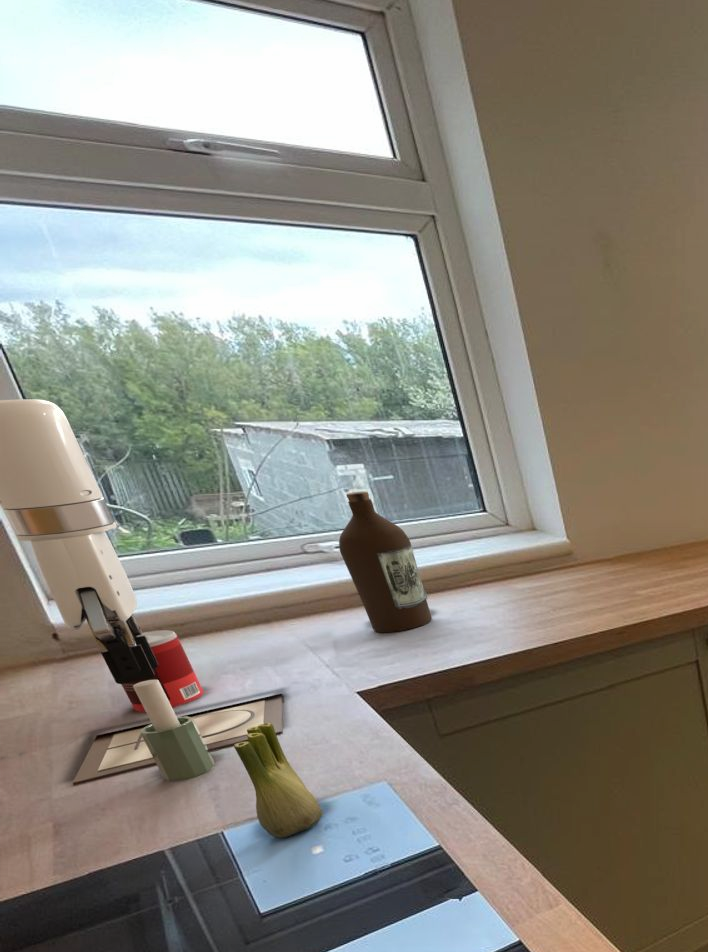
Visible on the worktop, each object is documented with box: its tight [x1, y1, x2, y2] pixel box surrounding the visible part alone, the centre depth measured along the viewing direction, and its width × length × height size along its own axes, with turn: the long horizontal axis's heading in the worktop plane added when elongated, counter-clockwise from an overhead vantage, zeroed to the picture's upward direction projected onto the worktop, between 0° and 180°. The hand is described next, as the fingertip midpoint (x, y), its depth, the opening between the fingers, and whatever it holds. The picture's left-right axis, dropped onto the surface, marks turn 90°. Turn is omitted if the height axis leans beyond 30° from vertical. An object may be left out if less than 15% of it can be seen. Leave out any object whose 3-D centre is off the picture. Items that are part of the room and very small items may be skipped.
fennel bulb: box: [233, 723, 323, 838], centre depth 85 cm, size 6×5×12 cm
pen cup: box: [140, 715, 216, 782], centre depth 99 cm, size 5×5×7 cm
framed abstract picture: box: [72, 693, 285, 786], centre depth 111 cm, size 20×18×1 cm
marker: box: [133, 680, 180, 731], centre depth 98 cm, size 2×2×12 cm
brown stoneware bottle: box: [338, 490, 433, 633], centre depth 150 cm, size 11×11×25 cm
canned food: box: [120, 629, 205, 713], centre depth 119 cm, size 8×8×11 cm
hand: (138, 673), depth 95 cm, fingers open, 3 cm apart
